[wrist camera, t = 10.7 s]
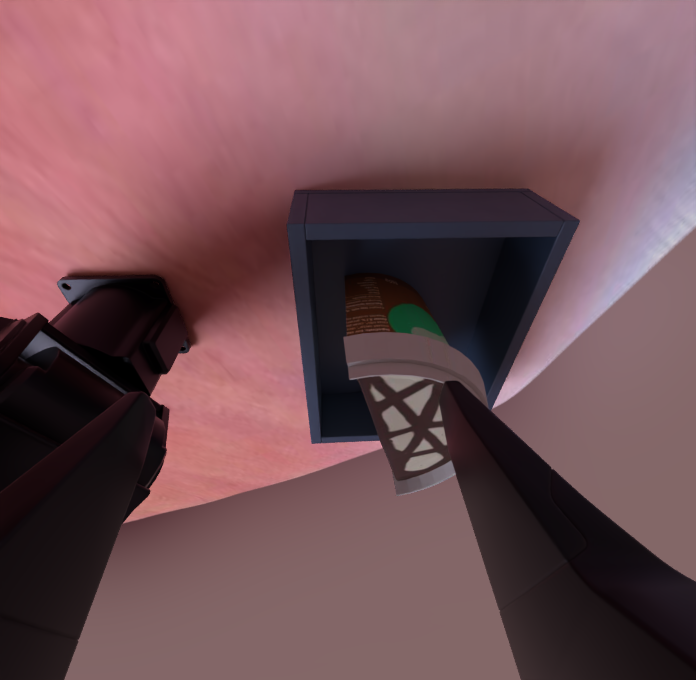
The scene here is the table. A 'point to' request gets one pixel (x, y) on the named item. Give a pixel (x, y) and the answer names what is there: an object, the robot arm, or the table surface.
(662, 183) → the table surface
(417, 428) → the food container
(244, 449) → the table surface
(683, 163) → the table surface
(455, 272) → the tote
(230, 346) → the table surface
